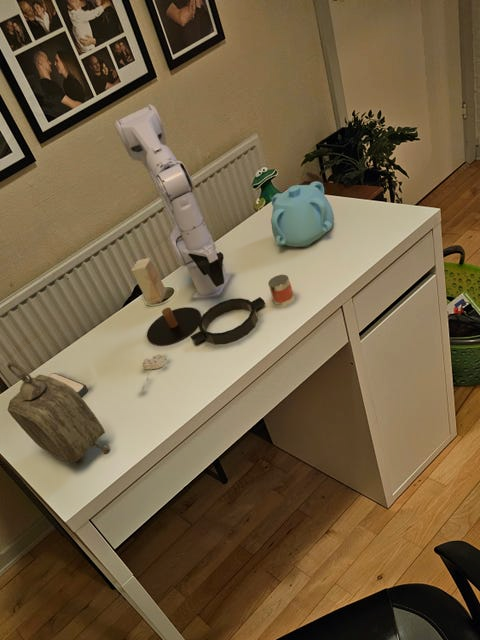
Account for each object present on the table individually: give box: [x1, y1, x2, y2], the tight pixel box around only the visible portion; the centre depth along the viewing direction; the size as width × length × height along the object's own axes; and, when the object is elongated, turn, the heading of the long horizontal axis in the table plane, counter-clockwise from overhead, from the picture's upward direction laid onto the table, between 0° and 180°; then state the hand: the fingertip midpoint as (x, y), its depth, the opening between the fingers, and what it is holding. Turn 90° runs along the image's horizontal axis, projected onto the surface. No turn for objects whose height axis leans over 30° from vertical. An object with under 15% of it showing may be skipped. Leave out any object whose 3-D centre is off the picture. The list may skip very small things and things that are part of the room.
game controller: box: [141, 353, 168, 391], centre depth 124 cm, size 6×12×3 cm, turn 2°
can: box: [267, 274, 295, 307], centre depth 127 cm, size 5×5×6 cm
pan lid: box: [146, 306, 203, 347], centre depth 134 cm, size 15×15×6 cm
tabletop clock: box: [6, 361, 110, 463], centre depth 105 cm, size 14×9×25 cm, turn 52°
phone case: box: [47, 372, 88, 398], centre depth 132 cm, size 9×2×16 cm
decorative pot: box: [270, 181, 335, 248], centre depth 142 cm, size 16×16×14 cm
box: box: [130, 257, 167, 305], centre depth 146 cm, size 5×4×11 cm
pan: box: [190, 296, 266, 346], centre depth 127 cm, size 14×19×3 cm
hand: (213, 278), depth 125 cm, fingers open, 7 cm apart
